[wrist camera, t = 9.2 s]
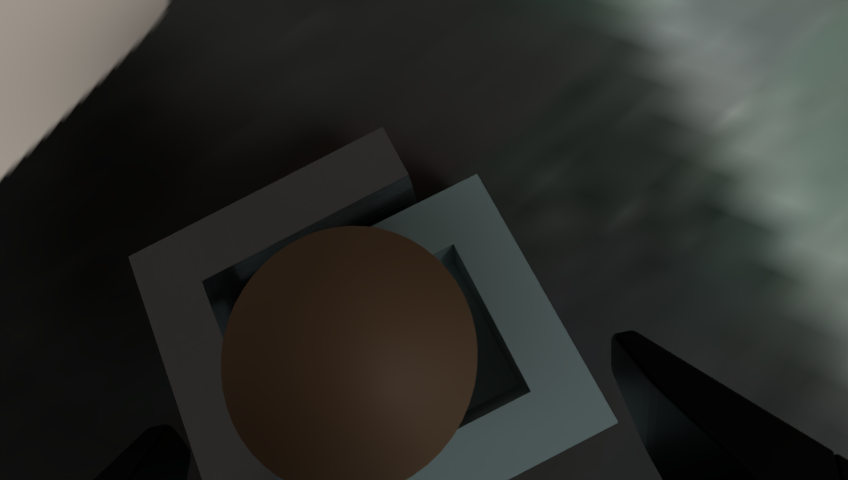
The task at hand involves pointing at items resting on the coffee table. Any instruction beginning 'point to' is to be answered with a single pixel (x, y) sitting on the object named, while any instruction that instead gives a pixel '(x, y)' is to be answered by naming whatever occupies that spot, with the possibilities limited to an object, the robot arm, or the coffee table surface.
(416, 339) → the dowel
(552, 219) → the coffee table surface
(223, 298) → the corner stop
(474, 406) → the socket block
